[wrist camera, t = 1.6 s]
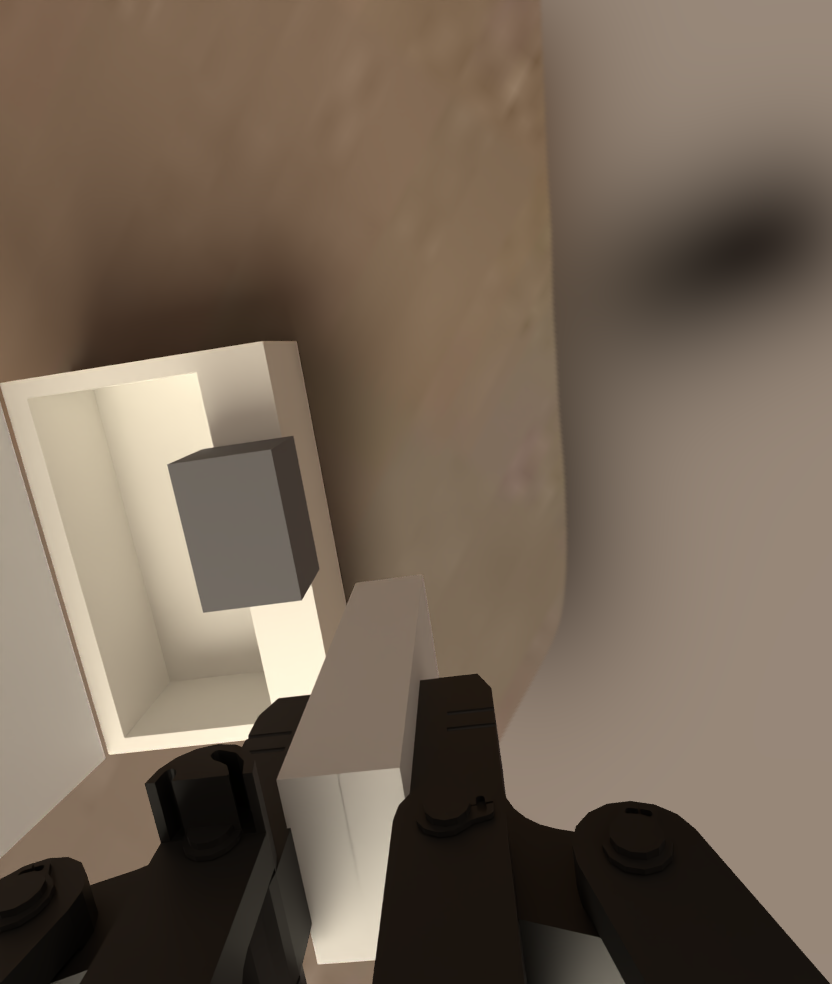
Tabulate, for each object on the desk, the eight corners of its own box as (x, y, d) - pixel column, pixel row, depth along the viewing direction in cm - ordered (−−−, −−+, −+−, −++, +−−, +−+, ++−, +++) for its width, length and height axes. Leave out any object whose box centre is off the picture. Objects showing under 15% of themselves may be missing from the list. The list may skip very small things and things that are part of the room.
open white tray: (70, 377, 33) (-12, 385, 27) (296, 341, 32) (262, 341, 26) (154, 690, 37) (98, 755, 31) (358, 666, 36) (340, 730, 30)
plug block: (202, 449, 27) (167, 464, 24) (293, 435, 27) (270, 449, 24) (232, 580, 29) (203, 612, 25) (319, 569, 28) (301, 600, 25)
